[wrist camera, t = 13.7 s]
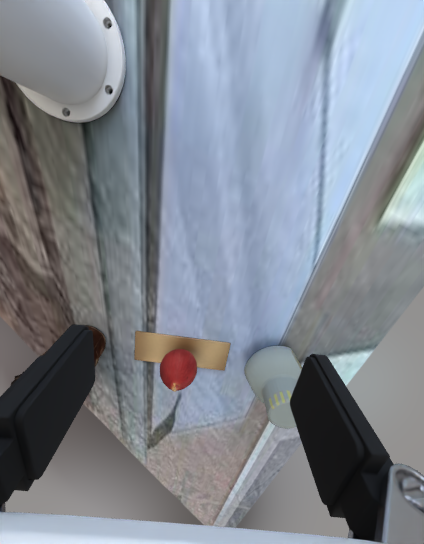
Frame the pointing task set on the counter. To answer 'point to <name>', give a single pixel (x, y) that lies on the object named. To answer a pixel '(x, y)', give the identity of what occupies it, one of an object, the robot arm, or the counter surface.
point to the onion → (178, 369)
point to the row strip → (203, 350)
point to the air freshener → (274, 382)
